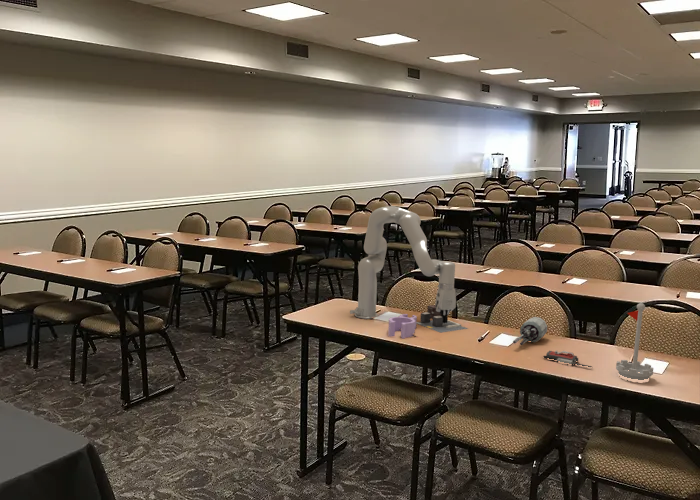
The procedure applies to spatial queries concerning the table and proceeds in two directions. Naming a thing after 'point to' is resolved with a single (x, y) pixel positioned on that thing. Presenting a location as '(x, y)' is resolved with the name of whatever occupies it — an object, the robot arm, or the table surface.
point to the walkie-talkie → (563, 357)
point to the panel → (445, 328)
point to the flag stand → (635, 353)
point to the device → (532, 330)
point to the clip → (402, 325)
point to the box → (433, 311)
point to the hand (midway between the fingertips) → (444, 322)
